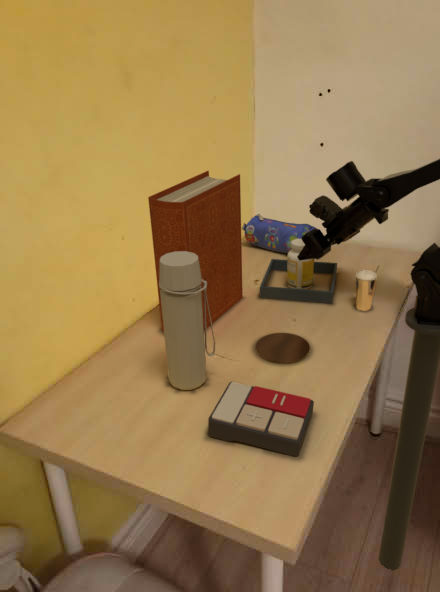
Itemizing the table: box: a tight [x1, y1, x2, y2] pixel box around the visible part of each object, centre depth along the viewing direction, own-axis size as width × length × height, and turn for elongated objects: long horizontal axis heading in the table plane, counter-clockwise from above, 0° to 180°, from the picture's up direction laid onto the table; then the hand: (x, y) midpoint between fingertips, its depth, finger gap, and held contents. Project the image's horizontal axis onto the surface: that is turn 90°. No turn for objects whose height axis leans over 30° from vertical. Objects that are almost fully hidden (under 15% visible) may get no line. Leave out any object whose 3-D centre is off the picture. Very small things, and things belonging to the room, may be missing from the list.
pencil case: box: [241, 213, 318, 254], centre depth 154 cm, size 22×9×10 cm, turn 53°
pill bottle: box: [286, 239, 315, 290], centre depth 133 cm, size 6×6×12 cm
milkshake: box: [355, 265, 380, 312], centre depth 122 cm, size 4×5×10 cm
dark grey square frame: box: [259, 258, 338, 305], centre depth 135 cm, size 17×17×3 cm
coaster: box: [255, 332, 311, 365], centre depth 110 cm, size 11×11×1 cm
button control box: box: [207, 381, 315, 457], centre depth 89 cm, size 11×4×15 cm
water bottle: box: [159, 251, 216, 391], centre depth 96 cm, size 9×8×25 cm
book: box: [147, 170, 243, 333], centre depth 117 cm, size 23×8×30 cm, turn 149°
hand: (308, 252), depth 130 cm, fingers open, 9 cm apart
